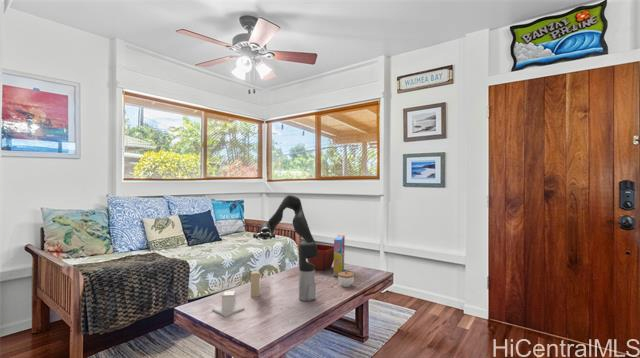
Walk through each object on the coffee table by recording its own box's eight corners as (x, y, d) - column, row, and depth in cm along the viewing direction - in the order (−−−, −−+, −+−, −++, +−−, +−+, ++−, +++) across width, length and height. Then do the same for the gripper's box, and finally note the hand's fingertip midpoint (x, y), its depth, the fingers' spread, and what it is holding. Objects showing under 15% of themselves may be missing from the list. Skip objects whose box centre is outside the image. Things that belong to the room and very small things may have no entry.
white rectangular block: (235, 305, 170) (235, 291, 170) (233, 310, 164) (233, 295, 164) (223, 305, 169) (224, 291, 169) (221, 310, 163) (221, 295, 163)
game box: (340, 277, 226) (341, 240, 226) (333, 276, 227) (333, 239, 227) (344, 269, 246) (344, 235, 246) (337, 268, 247) (337, 234, 247)
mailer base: (259, 293, 191) (259, 271, 191) (258, 296, 186) (258, 273, 186) (251, 293, 190) (251, 271, 190) (250, 296, 185) (251, 273, 185)
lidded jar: (353, 288, 203) (354, 274, 203) (337, 287, 204) (337, 273, 204) (354, 283, 213) (354, 269, 213) (338, 282, 214) (338, 268, 214)
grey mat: (244, 309, 167) (244, 307, 167) (225, 316, 158) (225, 315, 158) (231, 303, 175) (231, 301, 175) (212, 310, 165) (212, 308, 165)
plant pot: (304, 268, 245) (304, 247, 245) (316, 263, 261) (317, 243, 261) (324, 273, 235) (325, 251, 235) (336, 267, 251) (337, 246, 251)
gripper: (255, 227, 210) (252, 231, 194) (276, 227, 212) (275, 231, 196) (254, 238, 210) (252, 243, 194) (275, 238, 212) (274, 243, 196)
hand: (263, 237), depth 195 cm, fingers open, 8 cm apart
